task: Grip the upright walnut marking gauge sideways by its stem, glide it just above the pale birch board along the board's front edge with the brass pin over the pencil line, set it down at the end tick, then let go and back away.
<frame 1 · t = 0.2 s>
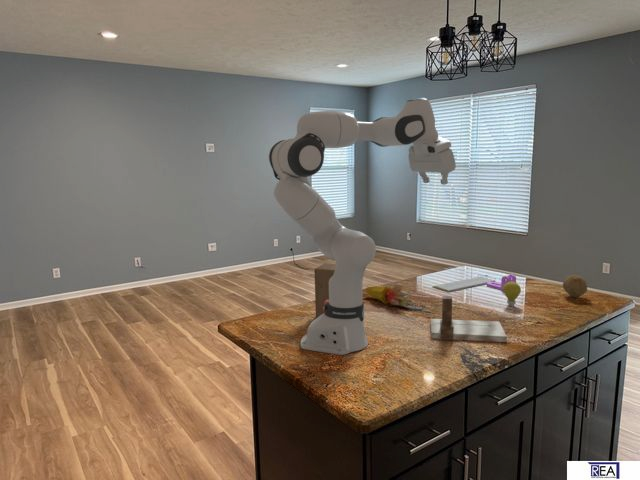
hand: (435, 183, 157), 52 cm above the worktop, tool tilted 20°, fingers open, 8 cm apart
light bulb: (511, 305, 184), on the worktop
wooden block: (332, 316, 178), on the worktop
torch: (388, 303, 193), on the worktop
natural sponge: (573, 297, 193), on the worktop
bracket: (499, 288, 210), on the worktop
marking gauge: (446, 331, 153), point 2 cm above the worktop, touching birch board
baseboard molding: (463, 285, 217), on the worktop
birch board: (466, 332, 157), on the worktop
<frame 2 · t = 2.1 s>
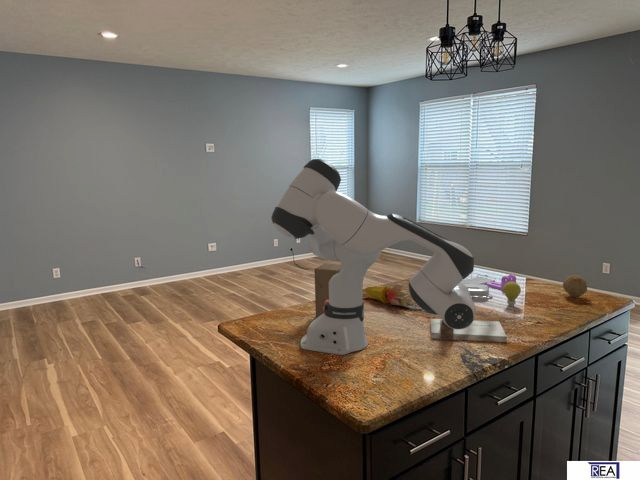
hand: (450, 284, 137), 22 cm above the worktop, tool horizontal, fingers open, 8 cm apart
nothing on the worktop moved.
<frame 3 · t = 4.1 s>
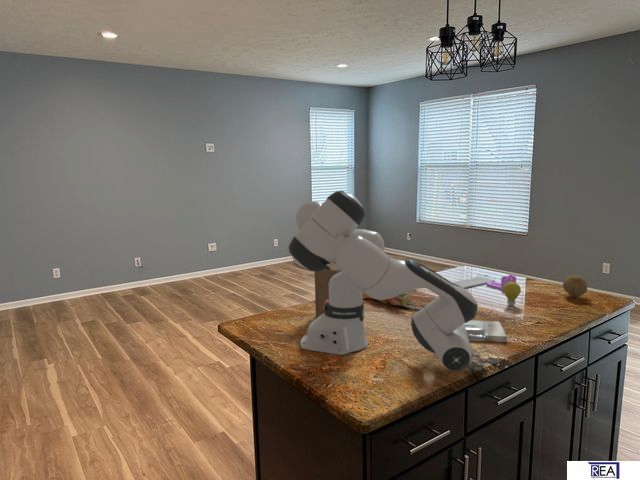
hand: (448, 320, 142), 9 cm above the worktop, tool horizontal, fingers open, 8 cm apart
nothing on the worktop moved.
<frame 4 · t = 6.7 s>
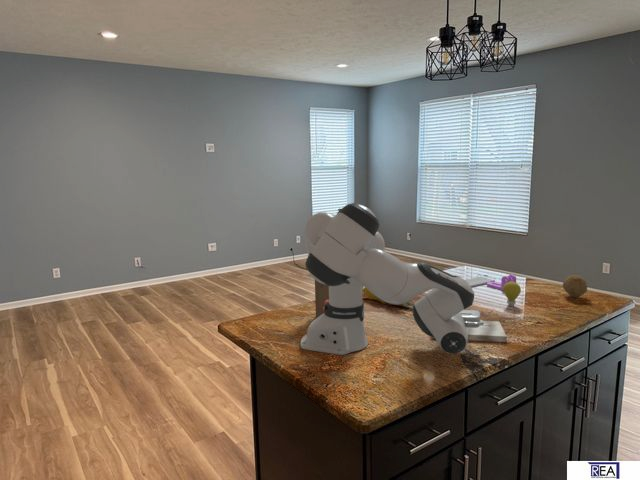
hand: (446, 309, 153), 10 cm above the worktop, tool horizontal, fingers closed on marking gauge, 3 cm apart
marking gauge: (446, 331, 153), point 2 cm above the worktop, touching birch board, gripper
everything else where it was.
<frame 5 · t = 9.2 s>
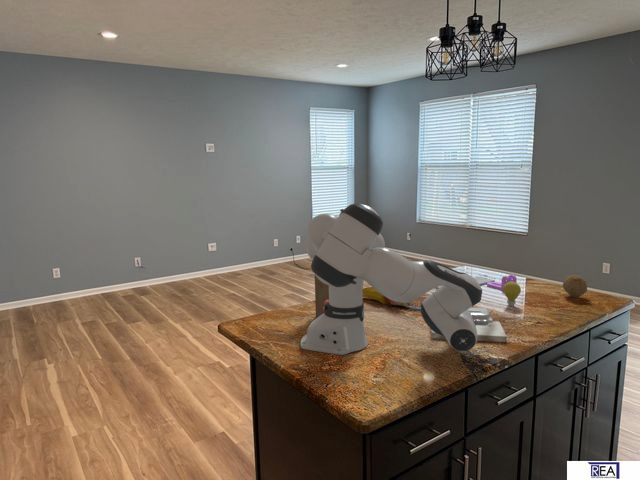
hand: (455, 307, 152), 10 cm above the worktop, tool horizontal, fingers closed on marking gauge, 3 cm apart
marking gauge: (454, 329, 152), point 3 cm above the worktop, touching gripper
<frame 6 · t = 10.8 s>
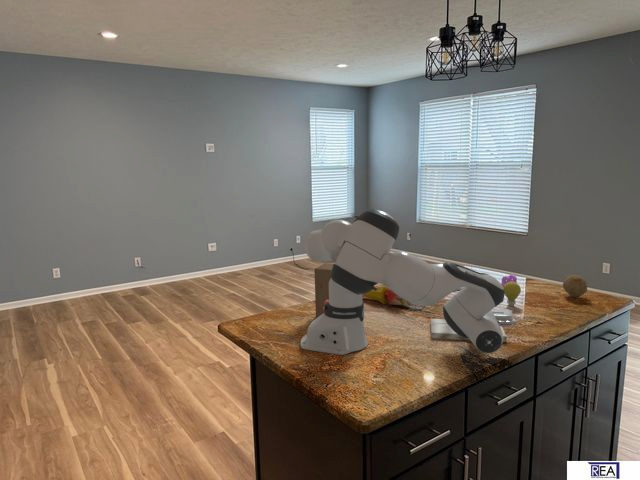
hand: (476, 308, 150), 10 cm above the worktop, tool horizontal, fingers closed on marking gauge, 3 cm apart
marking gauge: (475, 330, 151), point 3 cm above the worktop, touching gripper
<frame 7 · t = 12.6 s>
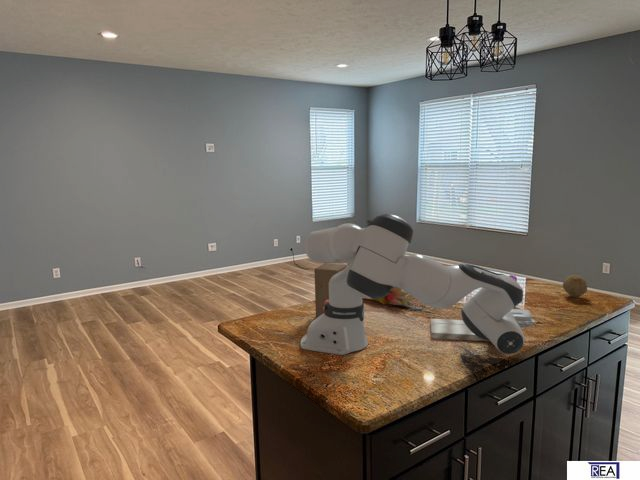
hand: (493, 308, 149), 10 cm above the worktop, tool horizontal, fingers closed on marking gauge, 3 cm apart
marking gauge: (492, 331, 150), point 3 cm above the worktop, touching gripper
when the fingers open (10 cm above the worktop, at t = 14.5 s): marking gauge stays where it is, resting on birch board.
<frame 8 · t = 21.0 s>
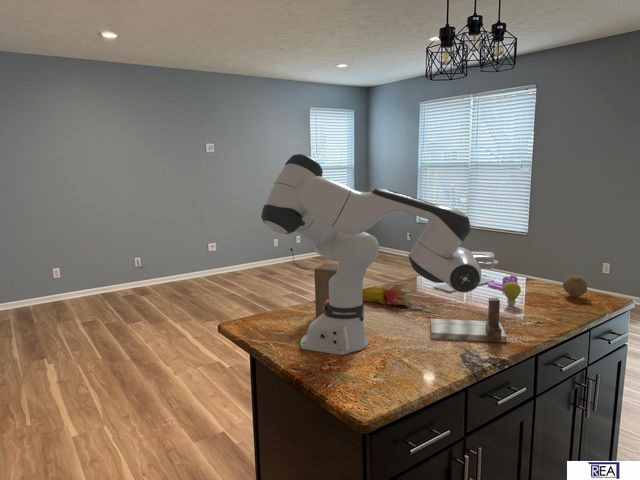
hand: (455, 253, 134), 32 cm above the worktop, tool horizontal, fingers open, 8 cm apart
marking gauge: (492, 333, 150), point 2 cm above the worktop, touching birch board
at the end: marking gauge 0.5 cm from the target spot, point 2.0 cm above the worktop; marking gauge tilted 0°; the gripper is holding nothing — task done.
